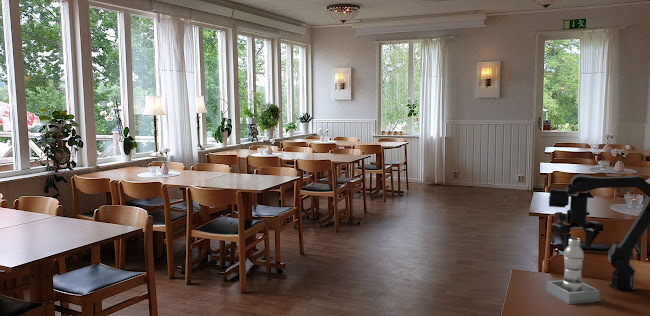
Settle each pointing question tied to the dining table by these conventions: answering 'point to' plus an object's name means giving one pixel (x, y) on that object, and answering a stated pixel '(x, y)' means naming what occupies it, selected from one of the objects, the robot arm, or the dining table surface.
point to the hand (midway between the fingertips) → (576, 249)
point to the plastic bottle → (573, 266)
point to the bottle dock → (572, 293)
